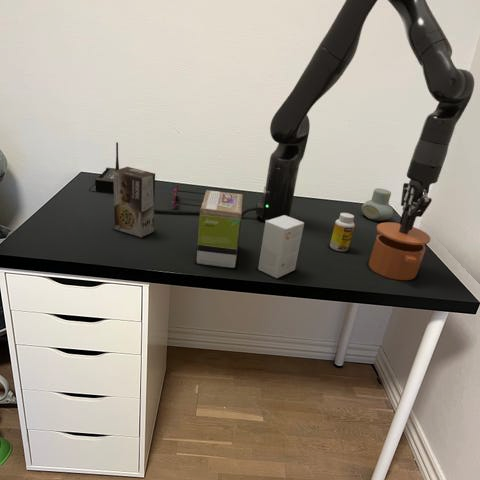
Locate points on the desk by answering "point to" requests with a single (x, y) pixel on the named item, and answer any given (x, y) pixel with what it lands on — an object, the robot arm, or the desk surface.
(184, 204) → the glasses
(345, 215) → the supplement bottle
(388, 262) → the orange pot
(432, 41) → the robot arm
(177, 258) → the desk surface
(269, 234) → the small box
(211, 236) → the tea box
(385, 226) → the orange pot lid
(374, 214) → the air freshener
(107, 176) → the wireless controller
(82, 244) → the desk surface
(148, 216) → the coffee box
